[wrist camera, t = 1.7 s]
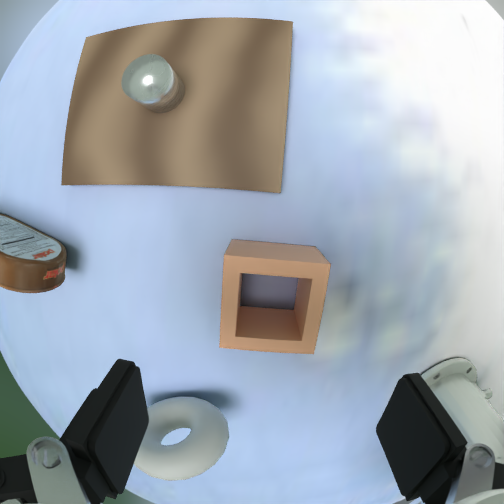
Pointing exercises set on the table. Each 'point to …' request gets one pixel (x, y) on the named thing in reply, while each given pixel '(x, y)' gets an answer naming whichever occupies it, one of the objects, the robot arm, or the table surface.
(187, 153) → the board
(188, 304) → the table surface
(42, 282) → the tin
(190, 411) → the donut
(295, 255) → the hollow square tube
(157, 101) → the domed metal cylinder
